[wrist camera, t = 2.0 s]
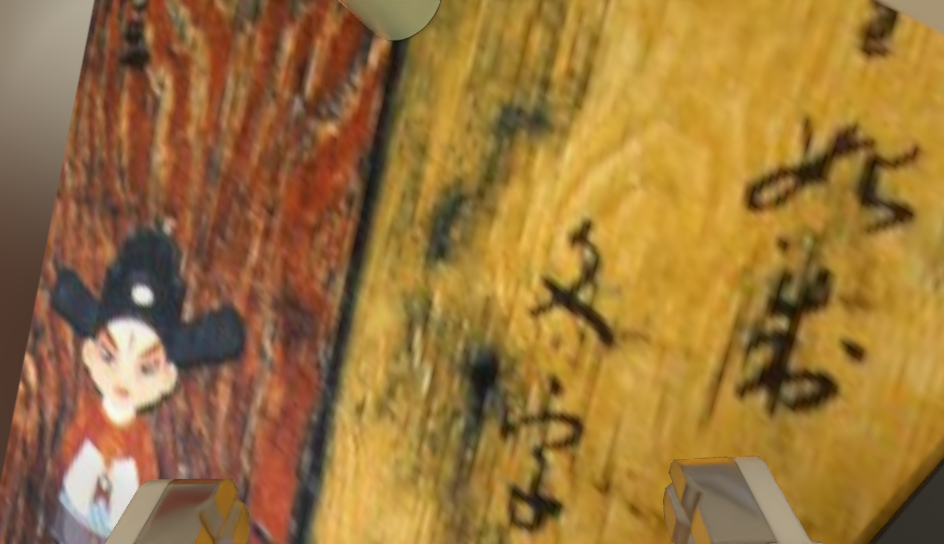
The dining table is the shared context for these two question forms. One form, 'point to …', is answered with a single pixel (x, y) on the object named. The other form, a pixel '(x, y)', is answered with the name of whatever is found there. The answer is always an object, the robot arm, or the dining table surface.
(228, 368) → the dining table surface
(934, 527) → the mat
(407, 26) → the jar
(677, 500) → the robot arm
